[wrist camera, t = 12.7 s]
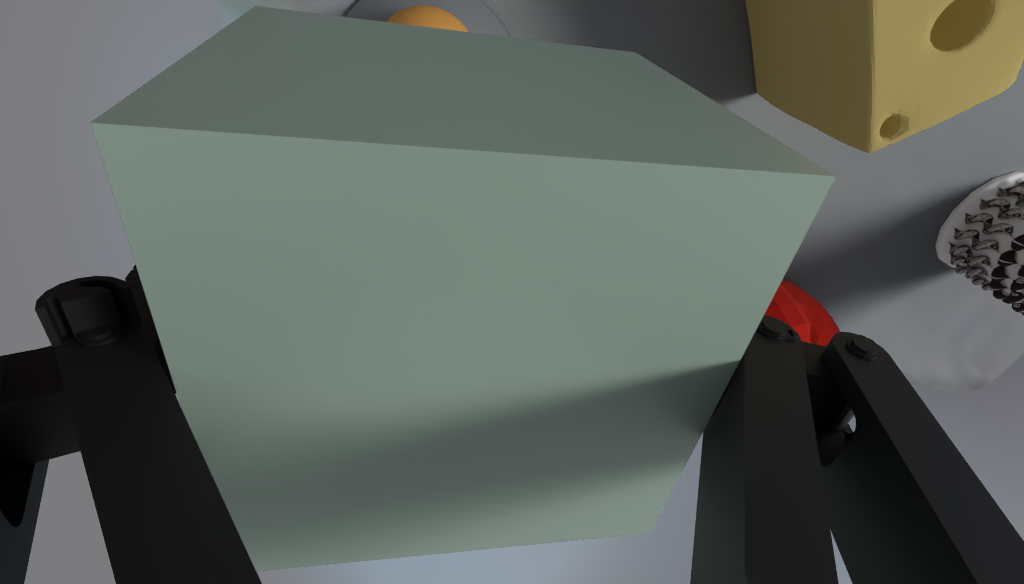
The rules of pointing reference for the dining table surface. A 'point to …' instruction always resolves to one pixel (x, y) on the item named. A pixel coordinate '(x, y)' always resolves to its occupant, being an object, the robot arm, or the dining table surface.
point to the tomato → (802, 314)
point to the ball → (427, 18)
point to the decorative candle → (989, 238)
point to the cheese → (883, 61)
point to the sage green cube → (444, 277)
